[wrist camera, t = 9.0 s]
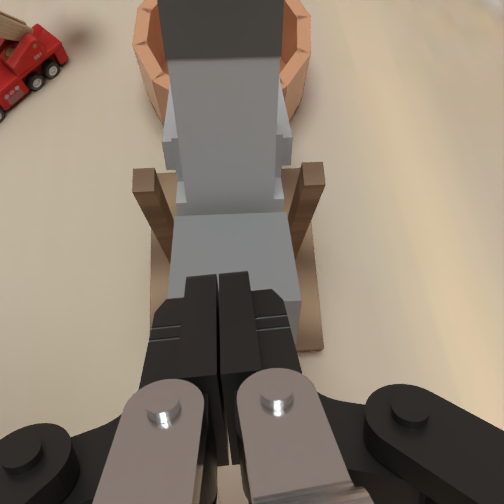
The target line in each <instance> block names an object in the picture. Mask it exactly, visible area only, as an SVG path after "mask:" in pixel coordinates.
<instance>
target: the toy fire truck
mask: <svg viewBox="0 0 504 504" xmlns="http://www.w3.org/2000/svg"><path fill="white" fill-rule="evenodd" d="M67 60H68V56H67V54H66V52H65V50H64V48H63V46H62V43H61V42H60V41H59V40H58V39H57V38H56V37H54V36H53V35H52V34H50V33H49V32H48V31H47V30H45V29H44V28H43V27H41V26H40V25H39V24H36V25H34V26H33V27H32V28H30V27H28V26H26V23H25V22H24V21H21V20H19V19H17V18H14V17H12V16H10V15H8V14H5V13H3V12H1V11H0V122H1V121H2V120H3V119H4V112H3V111H6V110H8V109H9V108H10V107H11V106H13V105H14V104H15V103H16V102H17V101H19V100H20V99H21V98H22V97H23V96H25V95H26V94H27V93H28V92H29V88H31V89H33V90H38V89H40V88H41V87H42V86H43V84H44V79H43V76H42V74H43V73H44V74H45V75H46V76H47V77H49V78H53V77H55V76H56V75H57V74H58V72H59V66H58V64H57V63H59V64H63V63H65V62H66V61H67Z"/></svg>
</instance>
